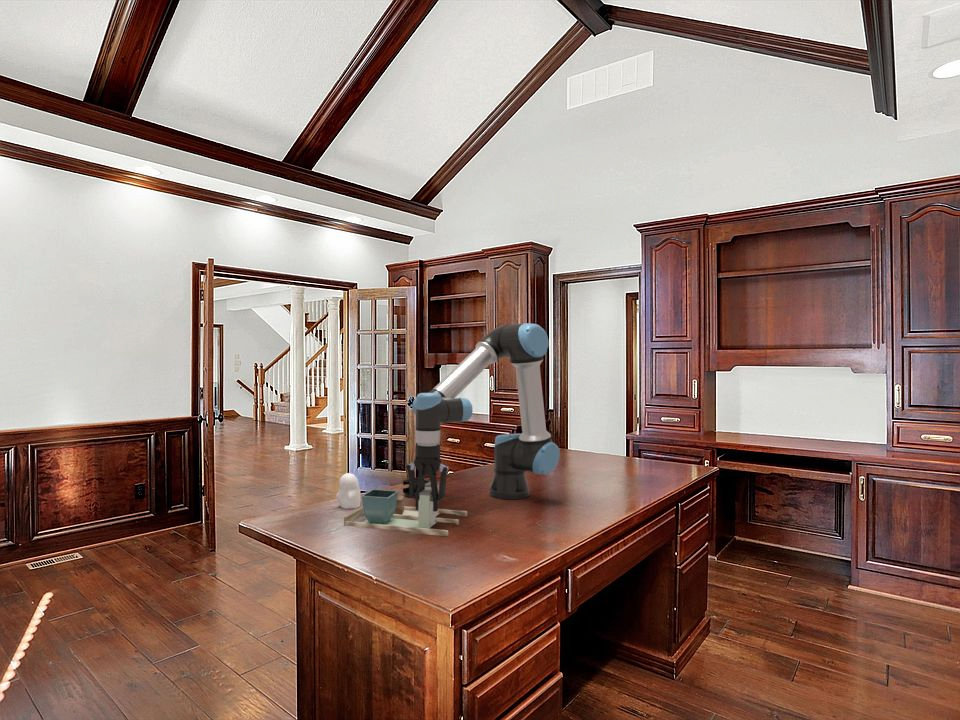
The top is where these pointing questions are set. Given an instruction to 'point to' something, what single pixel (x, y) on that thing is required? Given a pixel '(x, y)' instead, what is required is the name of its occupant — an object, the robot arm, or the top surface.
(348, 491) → the figurine
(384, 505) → the flower pot
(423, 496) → the sage strip
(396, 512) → the walnut block
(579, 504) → the top surface
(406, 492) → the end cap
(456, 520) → the lane frame
